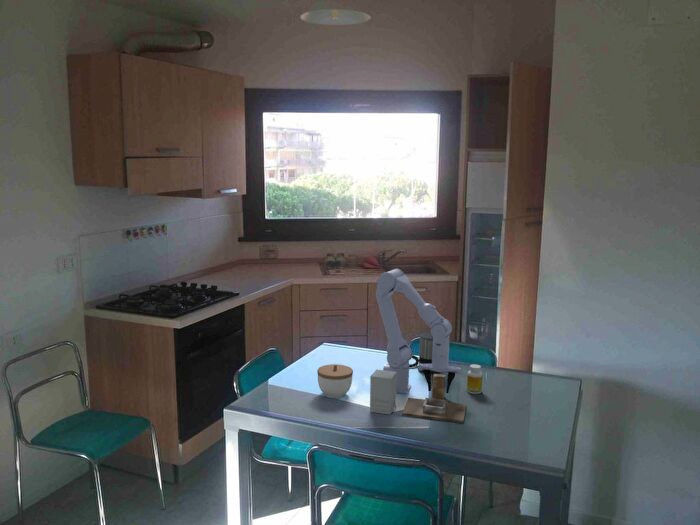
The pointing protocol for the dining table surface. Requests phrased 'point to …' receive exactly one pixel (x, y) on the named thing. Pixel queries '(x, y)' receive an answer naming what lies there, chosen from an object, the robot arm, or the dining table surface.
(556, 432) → the dining table surface
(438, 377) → the brown wooden block
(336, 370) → the lidded bowl
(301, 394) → the dining table surface
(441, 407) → the holder board
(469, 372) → the supplement bottle
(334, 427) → the dining table surface
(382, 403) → the supplement box
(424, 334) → the milk frother
